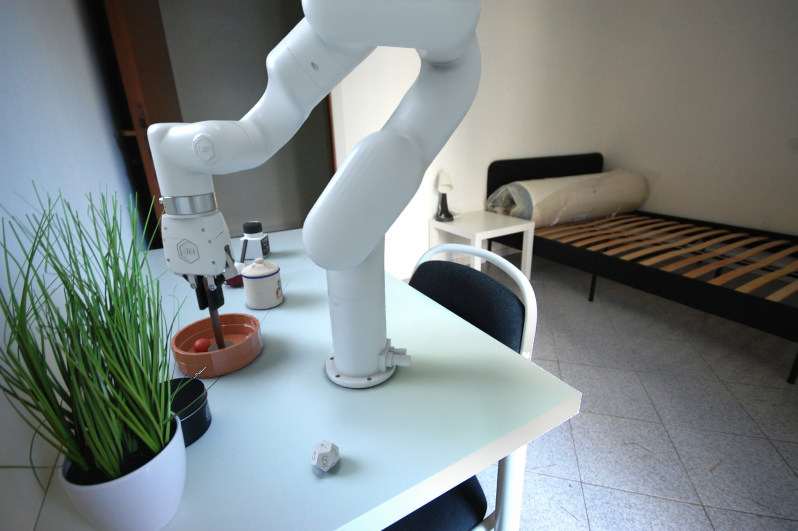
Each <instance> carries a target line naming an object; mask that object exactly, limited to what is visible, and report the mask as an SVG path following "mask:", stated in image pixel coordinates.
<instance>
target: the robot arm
mask: <svg viewBox="0 0 798 531" xmlns="http://www.w3.org/2000/svg"><path fill="white" fill-rule="evenodd" d="M301 7H302V11H303V14H304V17H303V18H302V19H301V20H300V21H299V22H298V23H297V24H296V25H295V26H294V28H292V29H291V30H290V32H288V33H287V35H286V36H285V37H284V38H282V39H281V41H280V42H279V43H278V44H277V45H276V46H275V47H274V48H273V49H272V50H271V51H270V52H269V53H268V55H267V56H266V61H265V66H266V71H267V86H266V89H265V91H264V93H263V95H262V96H261V98H260V99H259V100H258V102H256V104H255V105H254V106H253V107H251V109H250V110H249V111H248V112H247V113H246V114H244V116H242V118H241V119H239V120H215V119H214V120H212V119H211V120H203V121H197V122H158V123H153V124H150V125H149V126H148V128H147V131H146V132H147V133H146V134H147V140H148V144H149V149H150V152H151V153H150V154H151V157H152V162H153V166H154V170H155V173H156V178H157V183H158V187H159V191H160V195H161V197H159V199H158V202H159V204H160V205H161V206H163V208H164V214H162V215H161V239H162V246H163V251H164V258H165V261H166V265H167V269H168V271H170V272H172V274H175V275H176V276H179V277H181V278H183V279H184V280H185V281H186V282H187V283H189V286H190V288H191V289H192V290H194V292H195V295H196V296H195V297H196V301H197V305H198V309H199V311H205V310H206V309H208V304H207V299H206V295H205V290H204V285H203V280H202V279H203V278H205V277H207V281H208V287H209V290H207V297H208V302H209V307H210V310H211V311H216V310H217V309H218V310H219V309H220V308H221V307H223V306H224V305H225V296H224V290H223V285H225V284H224V283H226V282H225V281H226V280H227V279H230V278H233V277H235V276H236V275H238V271H237V269H236V267H235V265H234V264H235V263H236V258H235V250H234V247H233V242H232V238H231V235H230V232H229V228H228V225H227V222H226V220H225V217H224V215H223V213H222V211H221V210H220V211H219V208H218V202H217V196H216V192H215V185H214V181H213V175H219V176H220V175H228V174H233V173H237V172H241V171H246V170H251V169H255V168H258V167H260V166H262V165H263V164H265V163H266V162H267V161H268V160H270V158H272V157H273V156H274V155H275V154H276V153H277V152H278V151H279V150H280V149H281V148H283V147H284V146H285V145H286V144H287V143H288V142H290V140H291V139H292V138H293V137H294V135H296V133H297V132H298V131H299V130H300V128H301V127H302V125H303V124H304V123H305V121H306V120H307V119H308V118H309V116H310V115H311V113H312V111H313V109H315V107H316V106H318V105H319V103H321V101H322V100H323V99H324V98H326V97H327V95H329V94H330V93H331V92H332V91H333V90H334V89H335V88H336V87H337V86H338V85H340V83H342V82H343V81H344V80H345V79H346V78H347V77H348V76H349V75H350V74H351V73H352V72H353V71H354V70H355V69H356V68H357V67H359V66H360V65H361V64H362V63H363V62H364V61H365V60H366V59H367V58H369V57H370V55H371V54H372V53H373V52H374V51H375V50H376V49H378V47H388V48H401V49H402V48H404V49H414V50H415V51H416V53H417V55H418V56H419V59H420V69H419V72H418V75H417V77H416V78H415V80H414V81H413V83H412V84H411V85H410V87H409V88H408V89H407V91H406V92H405V94H403V96H402V98H401V100H400V101H399V103H398V105H397V106H396V107H395V109H394V111H393V112H392V114H390V116H389V118H388V119H387V120H386V121H385V123H384V125H383V126H382V127H381V128H380V129H379V130H378V131H374V132H372V133H370V134H367V135H366V136H364V137H363V138H361V139H360V140H359V141H358V142H357V143H356V144H355V145H354V146H353V147H352V149H351V150H349V152H348V154H347V155H346V156H345V158H344V160H343V161H342V163H341V164H340V166H338V169H337V170H336V171H335V173H334V174H333V175H332V177H331V179H330V181H329V182H328V184H327V185H326V187H325V188H324V190H322V193H321V194H320V195H319V197H318V199H317V200H316V202H315V203H314V204H313V206H312V208H311V209H310V211H309V212H308V214H307V215H306V218H305V220H304V222H303V226H302V231H301V239H302V244H303V245H302V246H303V248H304V250H305V253H306V255H307V256H308V258H309V259H310V260H311V261H312V262H313V263H314V264H315V265H316V266H318V267H319V268H321V269H324V270H326V271H325V273H326V287H327V298H328V310H329V320H330V331H331V340H332V341H331V342H332V350H333V351H332V353H331V354H330V355H329V356H328V358H327V360H326V362H325V372H326V375H327V377H328V378H329V379H330V380H331V381H332V382H333V383H334V384H337V385H339V386H341V387H345V388H350V389H362V388H363V389H365V388H369V387H374V386H377V385H379V384H381V383H383V382H385V381H387V380H388V379H389V378H390V377H391V376H392V375H393V374H394V373H395V371H396V366H400V367H405V368H406V367H408V368H411V367H412V355H411V354H407V352H408V351H407V350H408V349H407V348H404V347H395V346H392V339H391V338H389V337H387V336H388V335H387V333H388V332H387V311H386V310H387V309H386V308H387V307H386V274H385V273H386V272H385V250H386V249H385V247H386V233H387V232H388V231H389V230H390V228H391V227H392V226H393V225H394V223H395V222H396V221H397V220H398V218H399V217H400V216H401V214H402V213H403V212H404V211H405V209H406V208H407V207H408V205H409V204H410V202H411V201H412V200H413V198H414V197H415V196H416V194H417V192H418V191H419V189H420V187H421V185H422V183H423V181H424V180H423V179H424V178H425V175H426V172H427V170H428V169H429V167H430V166H431V165H432V163H433V162H434V160H435V159H436V158H437V156H438V155H439V154H440V153H441V151H442V150H443V149H444V147H445V146H446V144H447V143H448V141H449V140H450V139H451V137H452V136H453V134H454V133H455V131H456V130H457V129H458V127H459V126H460V124H461V123H462V122H463V120H464V119H465V117H466V116H467V114H468V112H469V111H470V109H471V107H472V105H473V103H474V101H475V99H476V96H477V93H478V91H479V87H480V81H481V74H482V54H481V48H480V43H479V40H478V39H479V38H478V36H477V31H476V30H477V27H478V24H479V21H480V17H481V11H482V10H481V9H482V0H301ZM166 204H167V205H166ZM165 206H166V208H165ZM223 231H224V232H223ZM221 232H223V233H222V234H221V235H219V234H220V233H221ZM218 235H219V236H218ZM217 236H218V237H217ZM216 237H217V238H216ZM214 238H215V239H214ZM224 269H225V272H223V271H224Z"/></svg>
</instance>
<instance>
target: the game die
mask: <svg viewBox="0 0 798 531" xmlns="http://www.w3.org/2000/svg"><path fill="white" fill-rule="evenodd" d="M339 448H340V447H339V446H338V445H336V444H335V443H333V442H331V441H328V440H327V439H322V440H321V441H320V442H318V443H317V444H315V445H314V446H313V448H312V450H311V451H310V465H311V466H313V467H314V468H316V469H318V470H320V471H322V472H325V473H327V472H328V471H330V470H331V469H332V468H333V467H334V466H336V464H337V463H338V462H339V460H340V449H339Z"/></svg>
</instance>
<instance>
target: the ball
mask: <svg viewBox="0 0 798 531" xmlns="http://www.w3.org/2000/svg"><path fill="white" fill-rule="evenodd" d="M210 346H211V343H210V341H209V340H207V339H199V340H197V341H196V342H195V344H194V347H193V348H194V351H195V352H196V353H203V352H208V348H209V347H210Z"/></svg>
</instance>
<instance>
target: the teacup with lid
mask: <svg viewBox="0 0 798 531" xmlns="http://www.w3.org/2000/svg"><path fill="white" fill-rule="evenodd" d="M280 271H281V267H280V266H279V264H277V263H275V262H269V261H266V260H264V259H263V258H256V259H254V262H252V263H251V264H249V265H246V267H245V268H243V269H242V271H241V276H242V277H243V283H244V284H243V288H244V295H245V300H246V304H247V306H248V308H250V309H253V310H266V309H272V308H274V307H277V306H278V305H280V304H282V302H283V301H284V294H283V286H282V278H281V273H280Z"/></svg>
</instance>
